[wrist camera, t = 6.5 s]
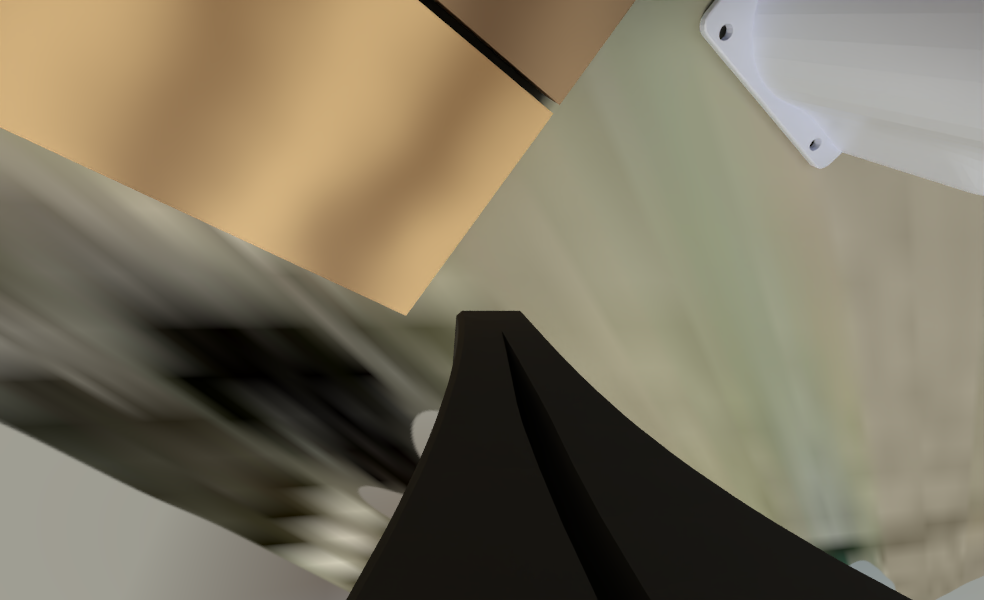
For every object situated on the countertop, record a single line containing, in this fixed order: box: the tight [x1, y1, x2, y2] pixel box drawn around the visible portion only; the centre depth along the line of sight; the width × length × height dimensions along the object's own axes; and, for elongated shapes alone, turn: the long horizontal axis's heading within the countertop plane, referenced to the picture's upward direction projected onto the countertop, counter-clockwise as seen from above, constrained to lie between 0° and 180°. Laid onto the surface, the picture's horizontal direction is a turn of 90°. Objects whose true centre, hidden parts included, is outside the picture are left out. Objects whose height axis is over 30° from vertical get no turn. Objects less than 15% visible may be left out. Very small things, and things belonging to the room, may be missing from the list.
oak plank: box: [0, 0, 553, 315], centre depth 14 cm, size 18×10×2 cm, turn 53°
